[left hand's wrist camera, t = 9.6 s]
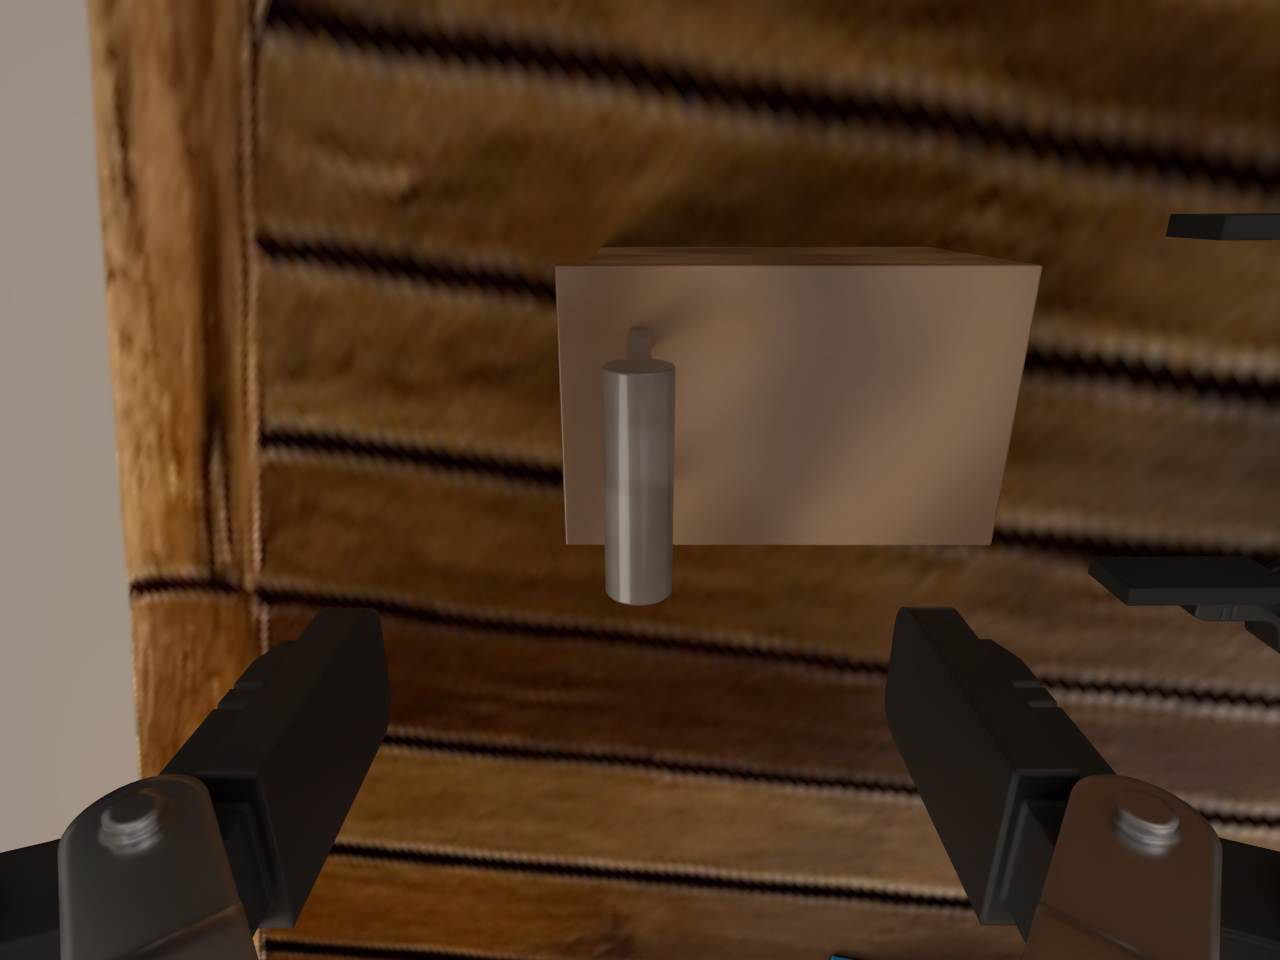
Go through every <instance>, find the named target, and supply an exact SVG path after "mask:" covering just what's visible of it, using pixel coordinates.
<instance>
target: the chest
mask: <svg viewBox="0 0 1280 960" xmlns="http://www.w3.org/2000/svg"><path fill="white" fill-rule="evenodd" d="M587 263H1024V262H1018V261H1012V260H1006V259H1000V258H994V257H988V256H982V255H976V254H970V253H964V252H958V251H952V250H946V249H939V248H934V247H600V248H599V249H598V251H597V252H596V253H595V254H594V255H593V256H592V258H591V259H590V260H589V261H588V262H587Z"/></svg>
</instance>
